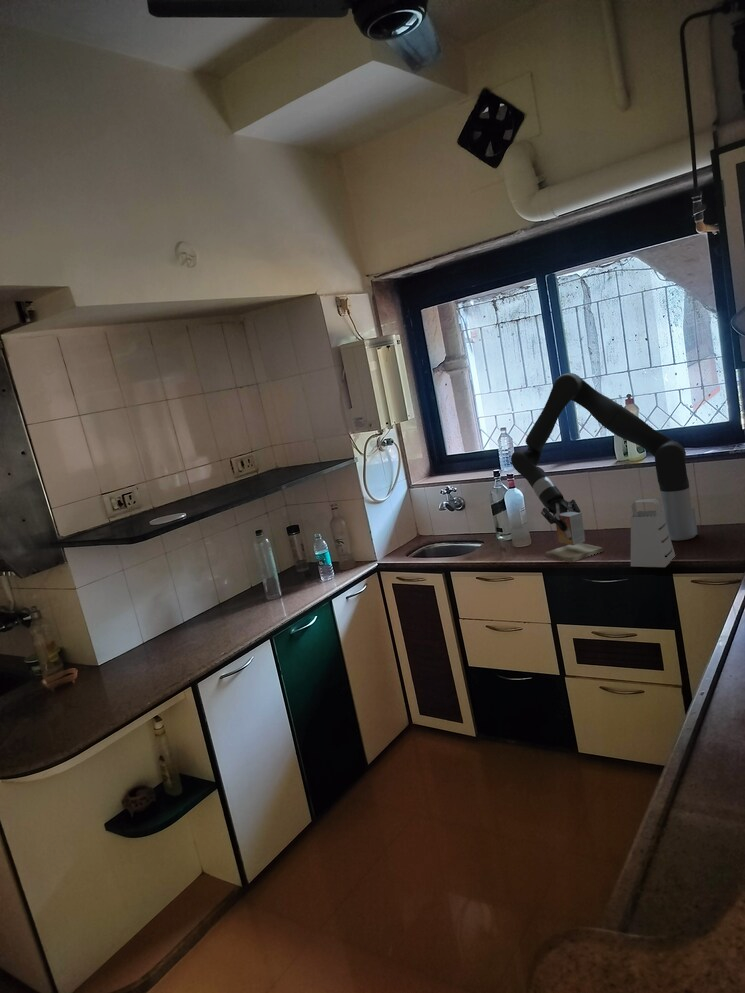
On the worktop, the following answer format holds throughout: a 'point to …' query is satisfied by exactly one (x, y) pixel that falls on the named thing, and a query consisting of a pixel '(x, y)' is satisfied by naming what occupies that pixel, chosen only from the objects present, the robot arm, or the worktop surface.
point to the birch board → (574, 552)
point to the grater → (650, 538)
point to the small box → (571, 528)
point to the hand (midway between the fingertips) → (572, 527)
